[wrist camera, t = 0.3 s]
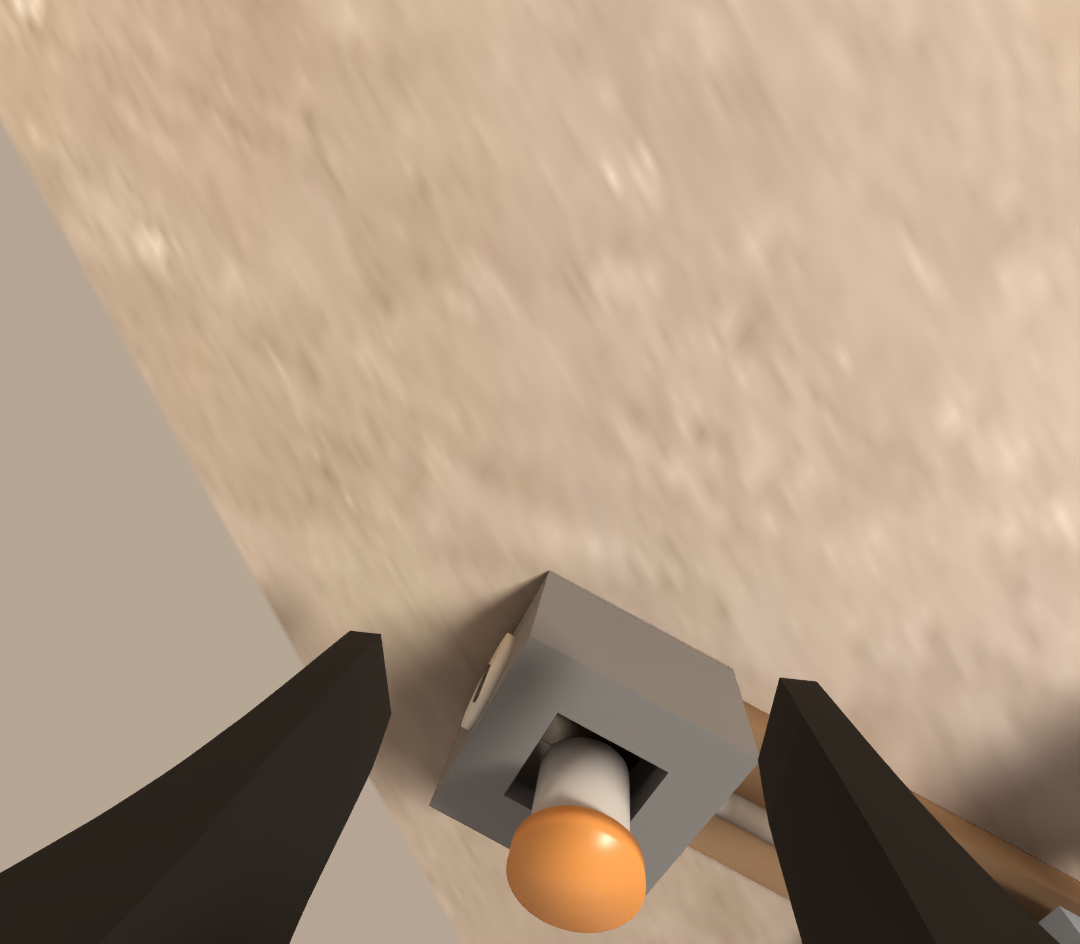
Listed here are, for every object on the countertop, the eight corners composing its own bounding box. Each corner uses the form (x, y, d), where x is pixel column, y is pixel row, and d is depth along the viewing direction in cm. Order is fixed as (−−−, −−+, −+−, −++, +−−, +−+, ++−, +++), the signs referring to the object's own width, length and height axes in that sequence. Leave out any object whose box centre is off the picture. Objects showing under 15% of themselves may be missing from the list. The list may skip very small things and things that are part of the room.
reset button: (606, 837, 19) (602, 953, 15) (509, 785, 19) (484, 889, 15) (663, 763, 18) (672, 870, 14) (560, 707, 18) (544, 802, 14)
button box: (629, 804, 23) (630, 913, 19) (456, 711, 23) (419, 800, 19) (732, 669, 21) (760, 759, 17) (540, 565, 21) (518, 629, 17)
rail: (1037, 1002, 23) (1085, 1081, 20) (661, 800, 23) (665, 855, 21) (1150, 919, 21) (1217, 996, 19) (741, 699, 21) (755, 748, 19)
